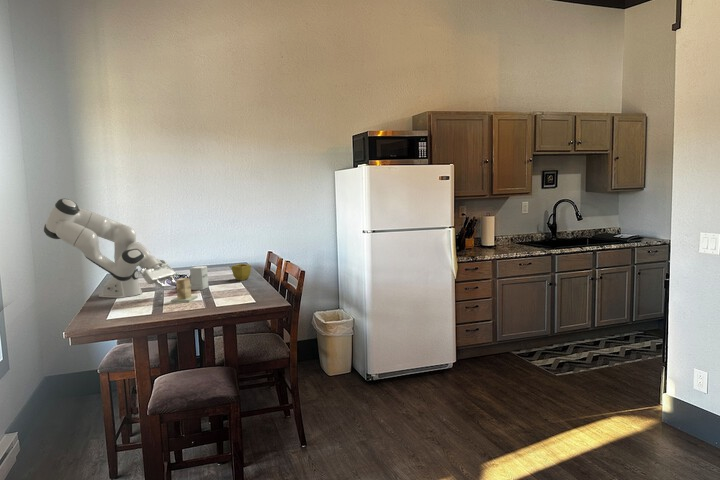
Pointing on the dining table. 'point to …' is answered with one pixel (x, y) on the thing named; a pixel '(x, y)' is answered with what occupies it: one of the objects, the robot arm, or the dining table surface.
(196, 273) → the supplement box
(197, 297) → the tile
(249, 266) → the flower pot
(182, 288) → the beech block
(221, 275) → the dining table surface
